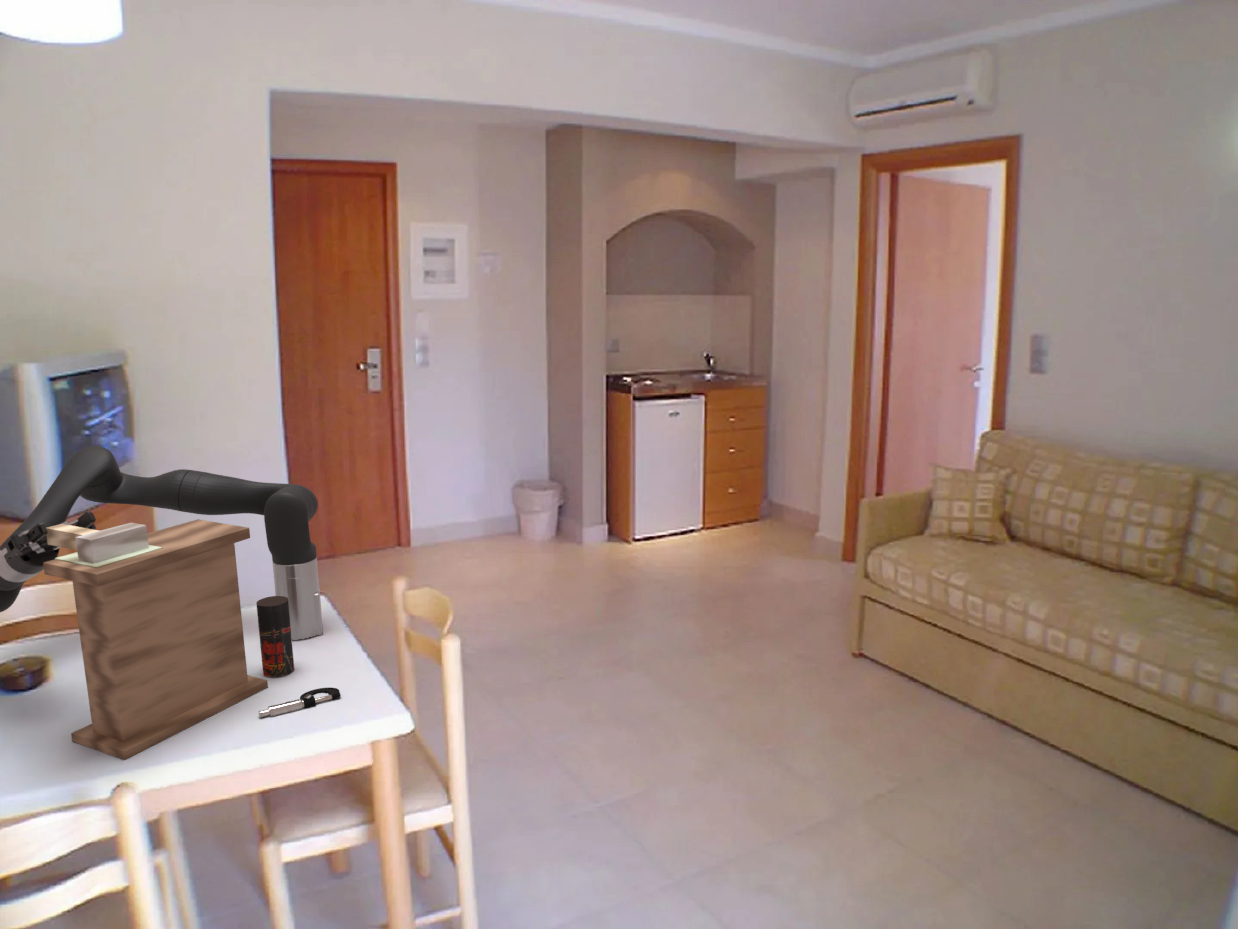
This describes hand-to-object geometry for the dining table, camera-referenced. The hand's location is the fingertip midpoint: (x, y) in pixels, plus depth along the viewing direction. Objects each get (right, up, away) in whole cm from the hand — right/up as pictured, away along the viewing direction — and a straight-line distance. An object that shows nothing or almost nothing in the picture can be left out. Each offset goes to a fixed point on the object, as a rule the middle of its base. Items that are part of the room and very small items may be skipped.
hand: (68, 521), depth 159 cm
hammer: (+4, -5, -1) cm, 6 cm away
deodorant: (+27, -32, +25) cm, 49 cm away
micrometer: (+36, -35, +12) cm, 52 cm away
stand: (+14, -35, +8) cm, 39 cm away
